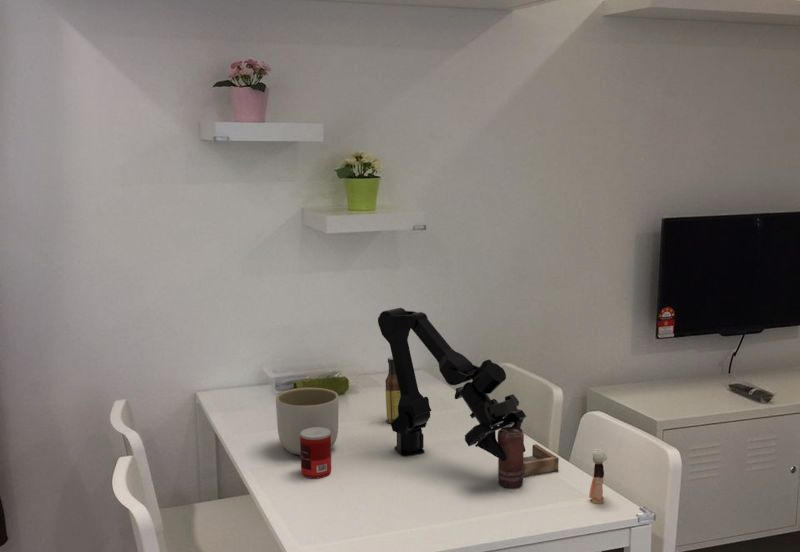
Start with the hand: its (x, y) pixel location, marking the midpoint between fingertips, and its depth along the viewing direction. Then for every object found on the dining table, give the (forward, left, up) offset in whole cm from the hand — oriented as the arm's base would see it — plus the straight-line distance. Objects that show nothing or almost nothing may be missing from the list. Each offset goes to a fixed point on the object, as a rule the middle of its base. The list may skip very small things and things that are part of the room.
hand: (514, 456), depth 222 cm
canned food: (-43, +27, -8) cm, 51 cm away
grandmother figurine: (+13, -16, -8) cm, 22 cm away
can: (-1, +1, -8) cm, 8 cm away
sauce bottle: (-9, +56, -8) cm, 57 cm away
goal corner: (+9, +9, -8) cm, 15 cm away
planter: (-40, +44, -8) cm, 60 cm away
